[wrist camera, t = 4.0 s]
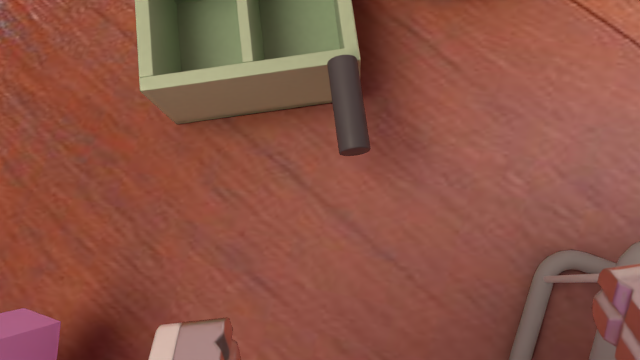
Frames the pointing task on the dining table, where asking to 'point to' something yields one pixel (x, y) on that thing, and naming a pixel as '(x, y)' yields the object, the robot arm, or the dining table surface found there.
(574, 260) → the newton's cradle
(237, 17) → the green shelf unit
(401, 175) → the dining table surface
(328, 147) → the dining table surface
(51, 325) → the teakettle
